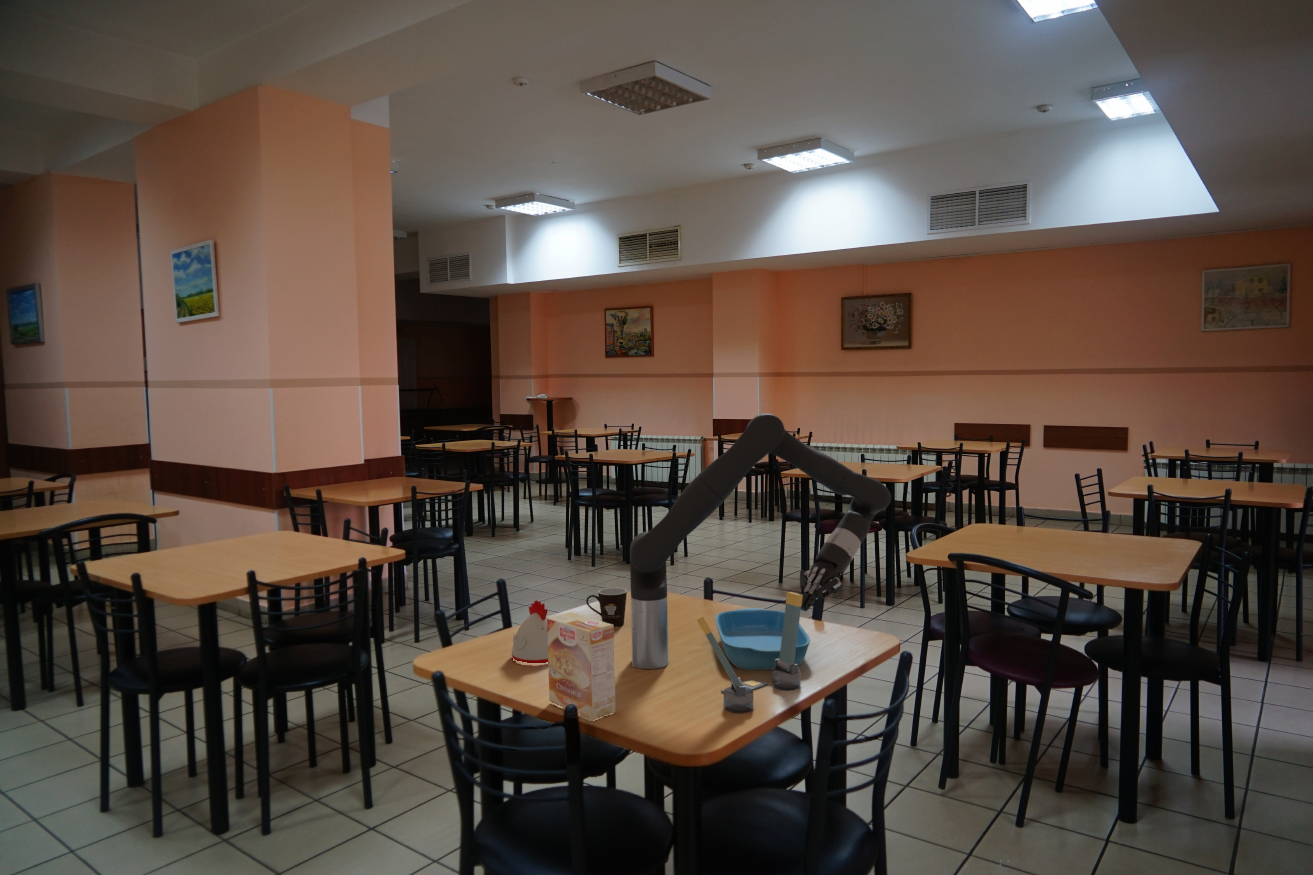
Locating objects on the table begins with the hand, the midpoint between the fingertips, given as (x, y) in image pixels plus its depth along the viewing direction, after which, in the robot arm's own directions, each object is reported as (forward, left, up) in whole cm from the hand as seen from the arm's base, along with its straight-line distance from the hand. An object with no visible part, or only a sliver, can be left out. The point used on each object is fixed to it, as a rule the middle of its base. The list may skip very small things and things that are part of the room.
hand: (801, 608), depth 187 cm
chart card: (-14, -4, -17) cm, 23 cm away
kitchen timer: (-64, +24, -18) cm, 71 cm away
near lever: (-17, -15, -12) cm, 26 cm away
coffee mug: (-46, +53, -17) cm, 72 cm away
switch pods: (-11, -9, -17) cm, 22 cm away
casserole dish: (-6, +22, -18) cm, 29 cm away
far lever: (-4, -3, -12) cm, 13 cm away
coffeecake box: (-51, -12, -17) cm, 56 cm away
